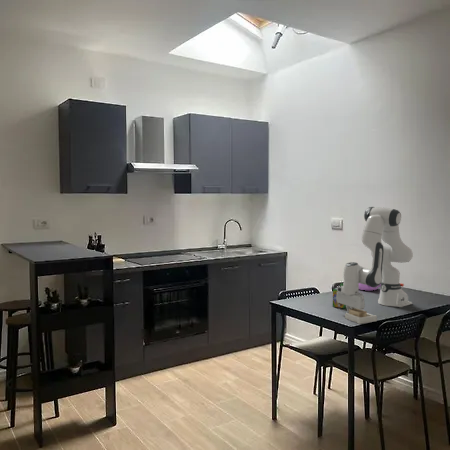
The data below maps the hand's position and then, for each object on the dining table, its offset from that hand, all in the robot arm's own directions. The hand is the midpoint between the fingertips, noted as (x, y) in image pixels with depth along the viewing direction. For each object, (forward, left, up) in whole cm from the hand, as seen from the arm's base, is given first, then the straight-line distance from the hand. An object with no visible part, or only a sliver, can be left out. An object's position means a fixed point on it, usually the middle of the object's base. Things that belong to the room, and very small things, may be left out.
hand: (349, 313), depth 270 cm
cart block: (0, +6, -2) cm, 7 cm away
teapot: (-66, -51, -2) cm, 83 cm away
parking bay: (0, +8, -2) cm, 9 cm away
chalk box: (-12, -20, -2) cm, 23 cm away
